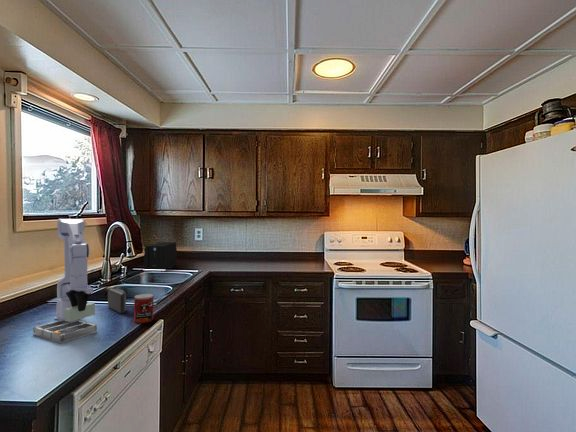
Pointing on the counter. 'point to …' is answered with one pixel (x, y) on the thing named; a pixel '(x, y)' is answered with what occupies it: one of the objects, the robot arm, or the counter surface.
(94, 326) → the rack
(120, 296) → the leaning round-cornered charcoal block
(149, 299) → the canned food
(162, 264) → the uninterruptible power supply
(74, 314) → the pale green rectangular box
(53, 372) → the counter surface
